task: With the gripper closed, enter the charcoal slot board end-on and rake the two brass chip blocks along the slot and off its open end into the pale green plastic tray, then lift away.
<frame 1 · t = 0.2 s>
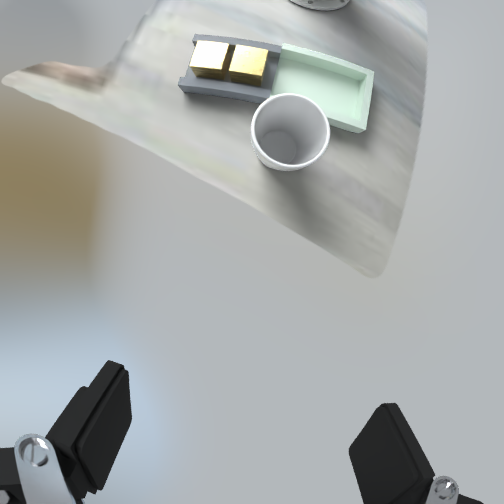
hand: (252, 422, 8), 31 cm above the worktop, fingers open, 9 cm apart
slot board: (231, 71, 33), on the worktop
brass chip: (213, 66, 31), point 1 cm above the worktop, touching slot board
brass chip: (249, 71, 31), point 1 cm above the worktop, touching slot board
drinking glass: (276, 150, 36), on the worktop
tray: (316, 90, 33), on the worktop
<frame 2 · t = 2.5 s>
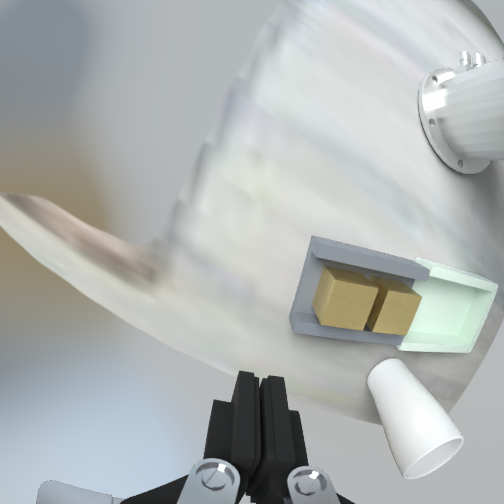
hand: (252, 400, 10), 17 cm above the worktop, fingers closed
slot board: (356, 288, 27), on the worktop
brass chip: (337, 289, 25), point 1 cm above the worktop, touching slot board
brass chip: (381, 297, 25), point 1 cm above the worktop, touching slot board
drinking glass: (384, 372, 30), on the worktop
tray: (438, 303, 27), on the worktop
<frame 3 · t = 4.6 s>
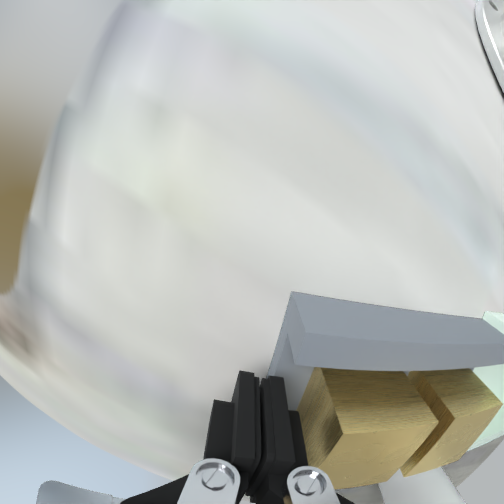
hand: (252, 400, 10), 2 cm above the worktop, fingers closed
slot board: (379, 381, 12), on the worktop
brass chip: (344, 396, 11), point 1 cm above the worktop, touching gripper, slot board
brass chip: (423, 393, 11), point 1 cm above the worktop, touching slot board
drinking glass: (404, 465, 15), on the worktop
tray: (497, 372, 13), on the worktop
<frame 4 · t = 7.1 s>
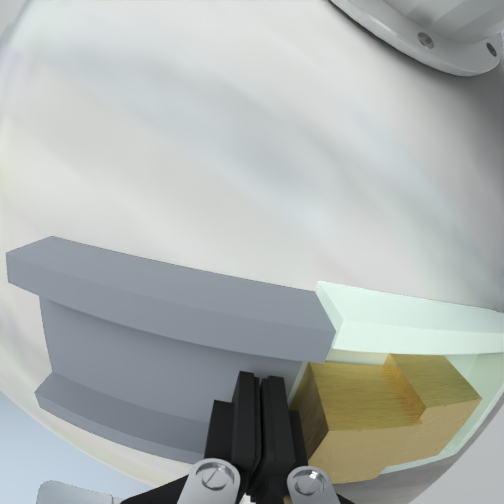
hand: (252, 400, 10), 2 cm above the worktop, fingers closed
slot board: (159, 349, 12), on the worktop
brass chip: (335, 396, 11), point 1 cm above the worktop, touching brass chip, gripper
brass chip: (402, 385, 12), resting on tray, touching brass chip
tray: (394, 379, 12), on the worktop
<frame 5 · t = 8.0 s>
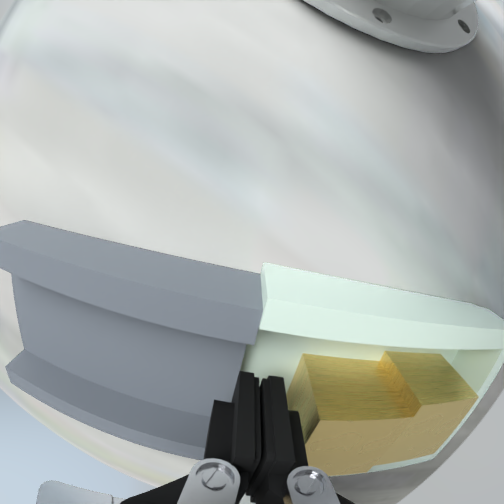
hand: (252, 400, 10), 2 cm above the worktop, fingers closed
slot board: (115, 328, 12), on the worktop
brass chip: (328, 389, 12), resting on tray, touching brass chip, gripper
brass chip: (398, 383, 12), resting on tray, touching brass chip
tray: (358, 373, 12), on the worktop
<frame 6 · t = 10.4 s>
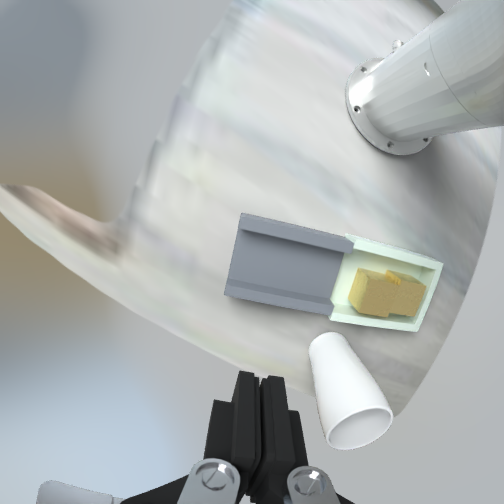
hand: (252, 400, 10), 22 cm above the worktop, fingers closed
slot board: (286, 260, 31), on the worktop
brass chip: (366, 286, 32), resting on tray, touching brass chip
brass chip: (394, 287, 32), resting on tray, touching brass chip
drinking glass: (326, 346, 34), on the worktop
tray: (377, 280, 32), on the worktop
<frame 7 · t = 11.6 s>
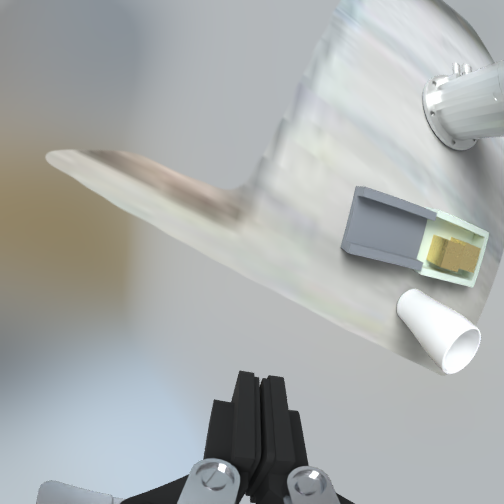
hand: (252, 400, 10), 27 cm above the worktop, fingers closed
slot board: (386, 227, 35), on the worktop
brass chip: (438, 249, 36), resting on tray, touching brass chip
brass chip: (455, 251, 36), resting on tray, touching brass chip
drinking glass: (408, 302, 38), on the worktop
tray: (444, 246, 36), on the worktop
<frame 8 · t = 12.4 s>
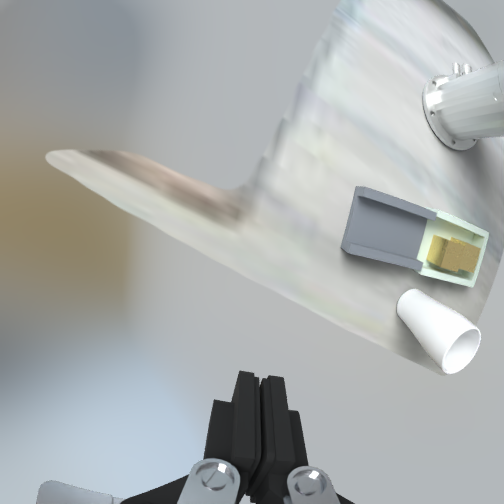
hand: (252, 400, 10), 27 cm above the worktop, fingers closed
slot board: (386, 227, 35), on the worktop
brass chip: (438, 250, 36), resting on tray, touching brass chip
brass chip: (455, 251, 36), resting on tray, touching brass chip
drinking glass: (408, 302, 38), on the worktop
tray: (444, 246, 36), on the worktop
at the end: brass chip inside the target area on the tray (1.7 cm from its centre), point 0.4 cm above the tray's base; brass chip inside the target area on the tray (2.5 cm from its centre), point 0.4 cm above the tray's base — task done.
